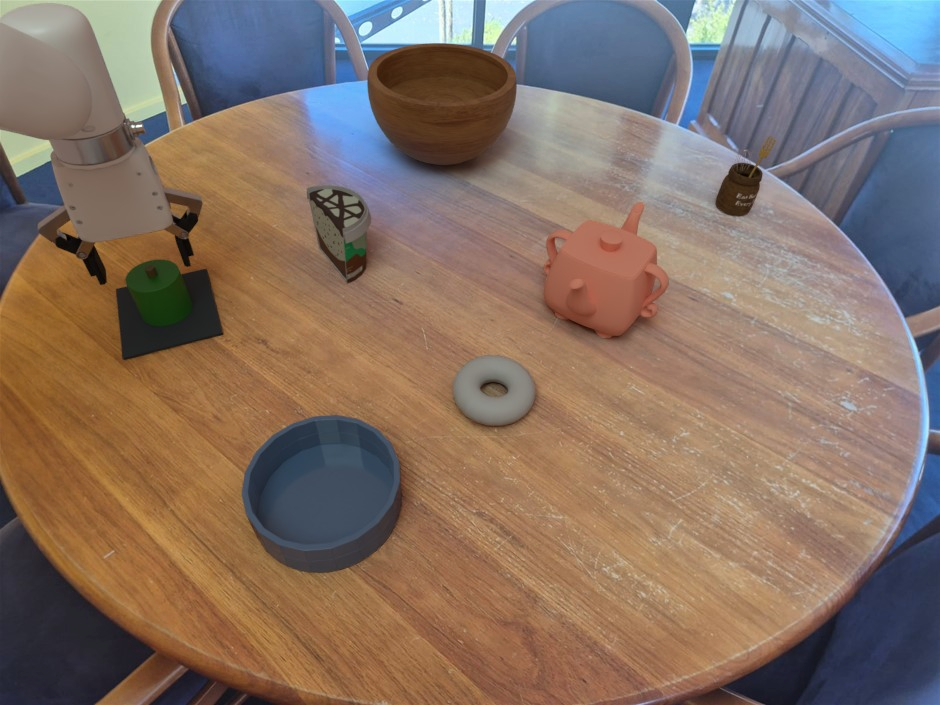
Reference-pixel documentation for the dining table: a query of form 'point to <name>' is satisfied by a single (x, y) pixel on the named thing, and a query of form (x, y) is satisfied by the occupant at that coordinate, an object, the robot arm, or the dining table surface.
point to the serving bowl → (323, 493)
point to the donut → (494, 408)
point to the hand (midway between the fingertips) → (145, 269)
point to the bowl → (441, 100)
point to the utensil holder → (741, 185)
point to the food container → (341, 227)
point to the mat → (151, 338)
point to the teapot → (603, 275)
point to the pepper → (159, 292)
